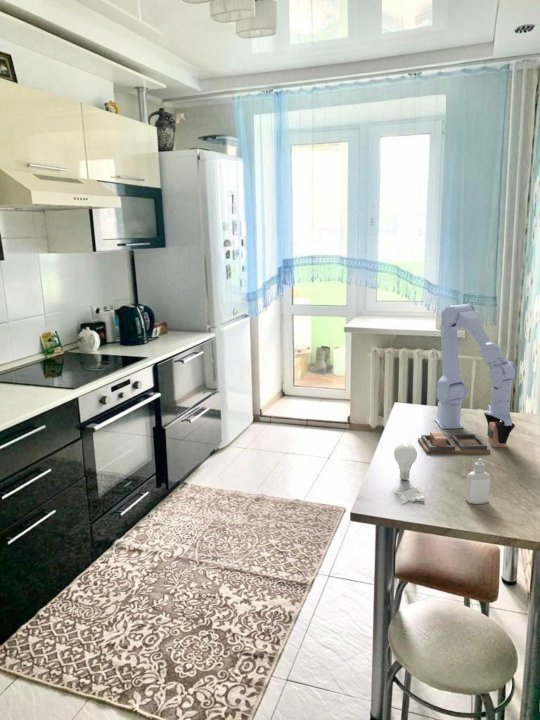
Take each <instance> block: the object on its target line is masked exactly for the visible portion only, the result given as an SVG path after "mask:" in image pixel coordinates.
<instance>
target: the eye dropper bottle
mask: <svg viewBox="0 0 540 720" xmlns="http://www.w3.org/2000/svg"><path fill="white" fill-rule="evenodd" d="M485 466H486V465H485V463H484V462H483V461H482V458H478V460H477V461H476V462H474V467H473V470H471V471H470V472H468V474H467V476H466V486H465V487H466V489H465V501H467V502H468V503H469V504H473V505H474V504H475V505H482V504H486V503H488V502H489V500H490V490H491V489H490V487H491V475H490V474H489V473H488V472H487V471H485Z"/></svg>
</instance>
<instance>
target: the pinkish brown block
mask: <svg viewBox="0 0 540 720" xmlns="http://www.w3.org/2000/svg"><path fill="white" fill-rule="evenodd" d="M487 436H488V438H487V442H488V444H490V446H491V447H493V448H495V447H499V446H500V447H507V444H508V443H507V442H508V441H507V442H506V443H505V444H500V443H499V442H498V431H497V427H496V425H495V422H489V427H488V426H487Z"/></svg>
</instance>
